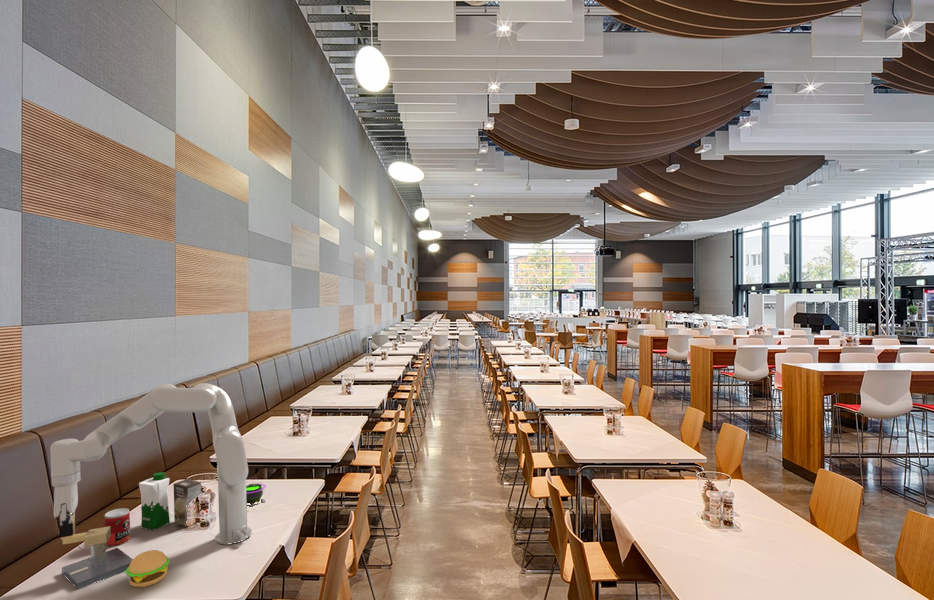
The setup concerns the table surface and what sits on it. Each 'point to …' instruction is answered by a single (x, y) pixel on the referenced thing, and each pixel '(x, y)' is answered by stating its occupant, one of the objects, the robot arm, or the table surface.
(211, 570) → the table surface
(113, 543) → the canned food
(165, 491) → the milk carton
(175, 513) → the coffee box
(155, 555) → the hamburger
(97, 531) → the wooden zigzag joint
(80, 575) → the grey slotted plate
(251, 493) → the toy cauldron
